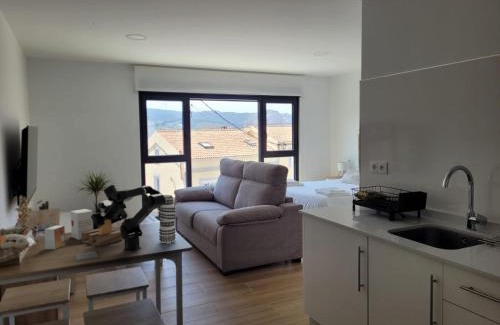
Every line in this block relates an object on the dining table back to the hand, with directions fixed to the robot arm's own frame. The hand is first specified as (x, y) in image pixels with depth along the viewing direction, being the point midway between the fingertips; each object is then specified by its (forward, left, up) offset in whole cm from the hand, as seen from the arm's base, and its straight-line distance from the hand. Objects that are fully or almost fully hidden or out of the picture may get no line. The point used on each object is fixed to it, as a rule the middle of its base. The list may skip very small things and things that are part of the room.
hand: (103, 225), depth 201 cm
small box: (+17, +16, -9) cm, 25 cm away
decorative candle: (-32, -11, -9) cm, 35 cm away
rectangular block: (-1, 0, -6) cm, 6 cm away
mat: (-9, +22, -9) cm, 26 cm away
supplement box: (+19, -4, -9) cm, 21 cm away
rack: (+2, 0, -9) cm, 9 cm away
